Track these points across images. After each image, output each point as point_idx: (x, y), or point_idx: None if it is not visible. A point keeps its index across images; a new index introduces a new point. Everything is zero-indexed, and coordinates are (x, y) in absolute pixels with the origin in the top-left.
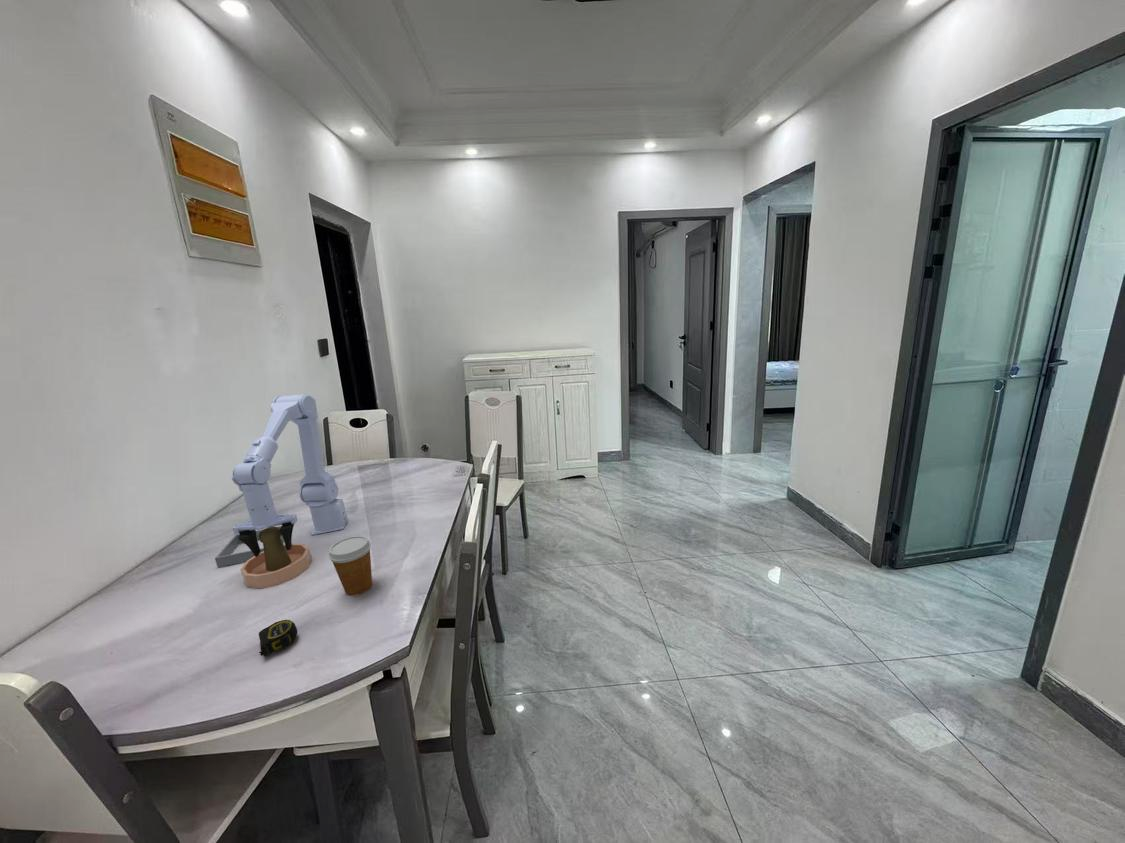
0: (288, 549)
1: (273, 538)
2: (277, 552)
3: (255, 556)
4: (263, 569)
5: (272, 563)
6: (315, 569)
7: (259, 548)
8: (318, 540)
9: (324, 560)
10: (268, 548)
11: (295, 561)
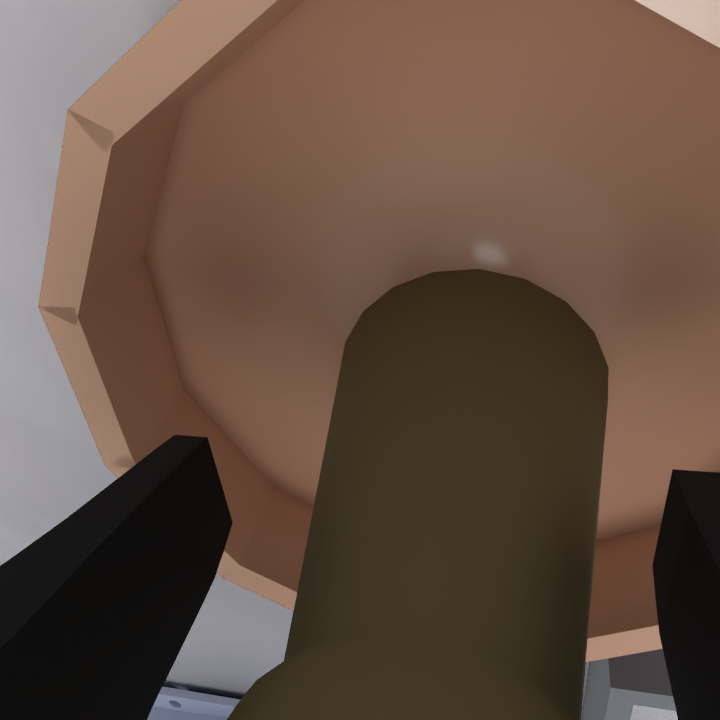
0: (174, 439)
1: (265, 713)
2: (360, 456)
3: (717, 474)
4: (638, 364)
5: (472, 336)
6: (20, 159)
7: (663, 634)
8: (275, 638)
9: (33, 311)
10: (459, 545)
11: (93, 212)
